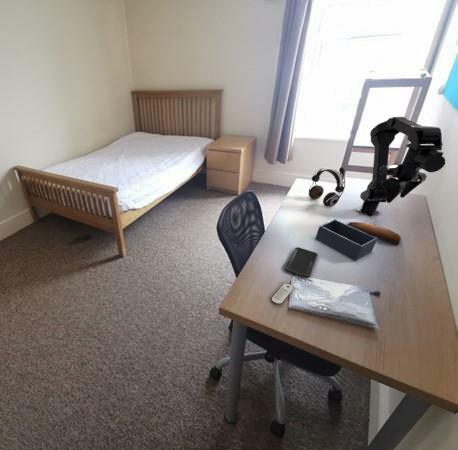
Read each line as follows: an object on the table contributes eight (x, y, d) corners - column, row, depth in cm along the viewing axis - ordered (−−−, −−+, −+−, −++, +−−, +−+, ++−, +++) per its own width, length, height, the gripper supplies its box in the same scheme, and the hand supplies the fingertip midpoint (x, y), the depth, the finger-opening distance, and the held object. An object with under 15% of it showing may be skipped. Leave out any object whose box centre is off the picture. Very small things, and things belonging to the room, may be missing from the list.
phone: (284, 267, 97) (296, 246, 107) (284, 270, 97) (295, 248, 107) (309, 276, 92) (318, 253, 102) (308, 278, 93) (318, 255, 103)
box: (330, 232, 116) (334, 219, 112) (371, 252, 104) (377, 238, 100) (315, 239, 112) (319, 225, 109) (355, 261, 100) (362, 246, 97)
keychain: (285, 281, 92) (294, 286, 90) (285, 282, 92) (294, 287, 90) (270, 299, 85) (280, 304, 84) (270, 300, 86) (279, 305, 84)
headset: (342, 209, 132) (357, 169, 121) (330, 212, 130) (344, 171, 119) (314, 194, 146) (325, 157, 135) (302, 197, 144) (312, 160, 133)
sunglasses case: (400, 234, 112) (405, 226, 106) (395, 249, 110) (400, 241, 104) (348, 221, 122) (351, 213, 116) (343, 234, 120) (345, 226, 114)
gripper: (402, 152, 112) (386, 187, 120) (374, 160, 105) (360, 197, 114) (436, 160, 104) (416, 197, 112) (407, 169, 97) (389, 208, 105)
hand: (394, 199), depth 111 cm, fingers open, 9 cm apart
